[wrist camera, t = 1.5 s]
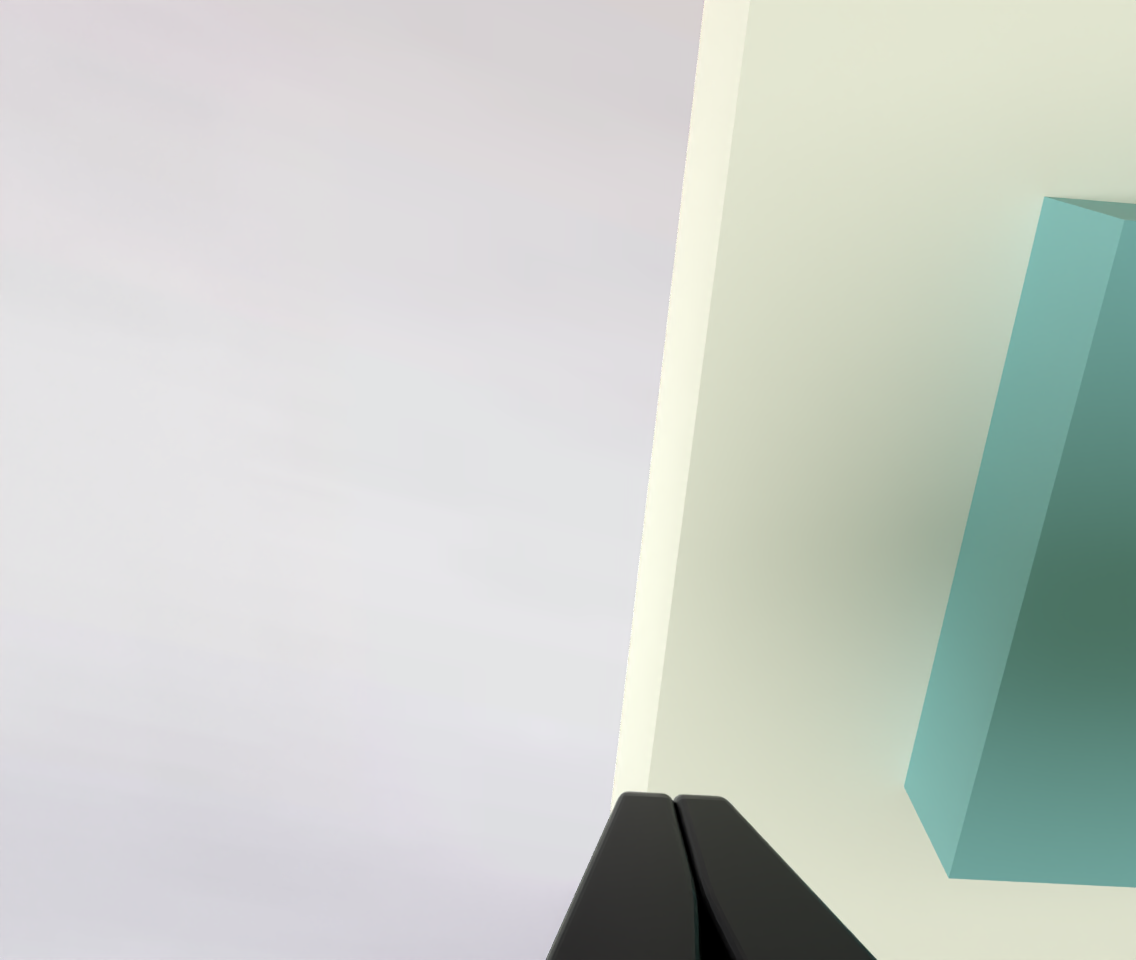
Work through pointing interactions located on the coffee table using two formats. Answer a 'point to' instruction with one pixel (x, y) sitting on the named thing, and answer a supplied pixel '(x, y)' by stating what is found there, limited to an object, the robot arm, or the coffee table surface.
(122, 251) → the coffee table surface
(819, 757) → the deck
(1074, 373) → the block
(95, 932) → the coffee table surface
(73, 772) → the coffee table surface
